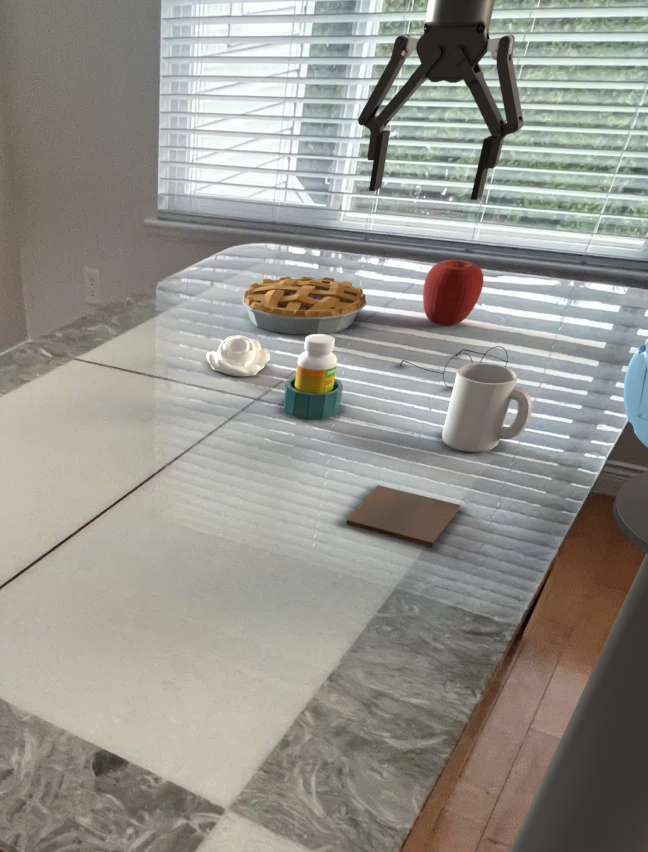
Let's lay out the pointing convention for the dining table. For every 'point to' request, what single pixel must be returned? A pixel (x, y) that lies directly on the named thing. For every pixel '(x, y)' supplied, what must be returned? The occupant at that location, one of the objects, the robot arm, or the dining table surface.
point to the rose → (239, 356)
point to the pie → (303, 305)
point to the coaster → (404, 515)
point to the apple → (451, 291)
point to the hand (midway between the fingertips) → (424, 193)
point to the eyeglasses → (456, 355)
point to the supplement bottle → (316, 365)
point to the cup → (484, 408)
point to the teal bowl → (312, 401)
